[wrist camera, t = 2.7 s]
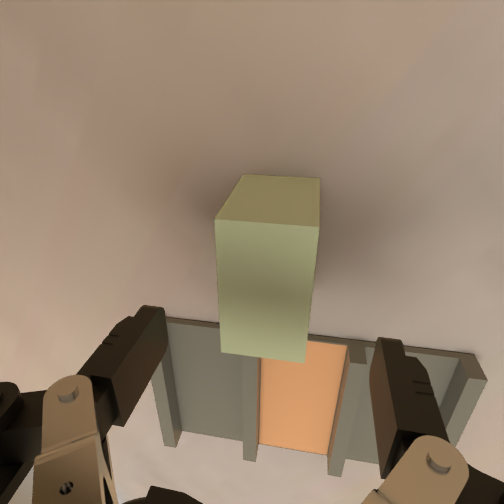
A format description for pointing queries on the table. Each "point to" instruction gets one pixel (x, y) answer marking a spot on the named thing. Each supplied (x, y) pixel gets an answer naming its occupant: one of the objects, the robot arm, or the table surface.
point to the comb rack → (294, 394)
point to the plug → (267, 265)
